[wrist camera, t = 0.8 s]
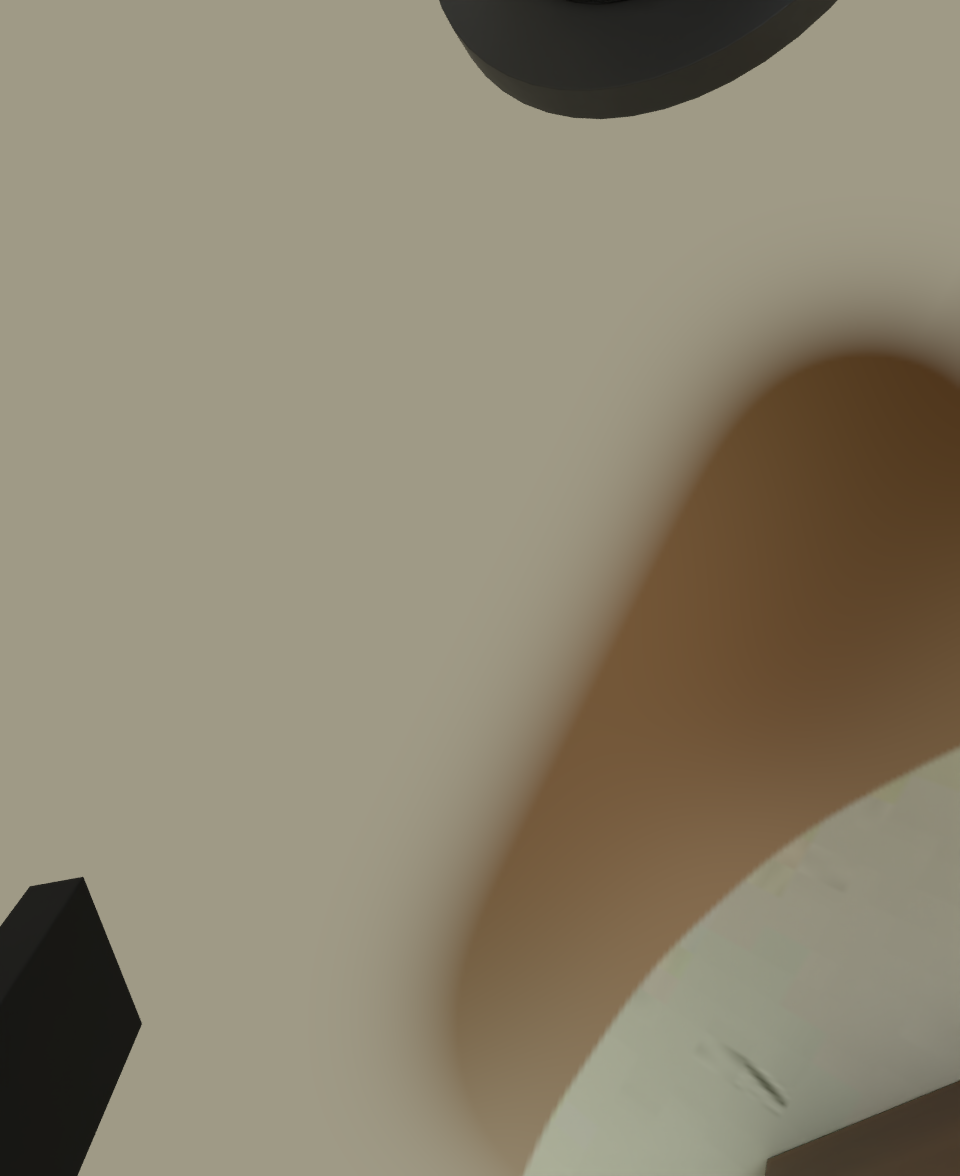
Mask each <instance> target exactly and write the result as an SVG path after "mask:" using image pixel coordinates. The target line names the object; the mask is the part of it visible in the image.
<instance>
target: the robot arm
mask: <svg viewBox="0 0 960 1176" xmlns="http://www.w3.org/2000/svg"><path fill="white" fill-rule="evenodd" d="M567 1H572V2H578V3H588V4H605V3H615V2H622V1H628V0H567ZM141 1025H142V1023H141V1020H140V1018H139V1015H138V1013H137V1010H136V1008H135V1005H134V1003H133V1000H132V998H131V995H130V993H129V990H128V988H127V985H126V983H125V980H124V978H123V975H122V973H121V970H120V968H119V965H118V963H117V960H116V958H115V955H114V953H113V950H112V948H111V945H110V943H109V940H108V938H107V935H106V933H105V930H104V928H103V925H102V923H101V920H100V918H99V915H98V913H97V910H96V908H95V905H94V903H93V900H92V898H91V895H90V893H89V890H88V888H87V885H86V883H85V881H84V878H83V877H81V878H75V879H69V880H64V881H58V882H52V883H47V884H41V885H35V886H30V887H29V888H28V890H27V891H26V892H25V894H24V895H23V896H22V898H21V899H20V901H19V902H18V903H17V905H16V906H15V907H14V909H13V910H12V911H11V913H10V914H9V916H8V917H7V918H6V919H5V921H4V922H3V924H2V925H1V926H0V1176H77V1175H78V1173H79V1171H80V1168H81V1166H82V1164H83V1161H84V1159H85V1157H86V1154H87V1152H88V1149H89V1147H90V1145H91V1142H92V1140H93V1138H94V1135H95V1133H96V1131H97V1128H98V1126H99V1123H100V1121H101V1119H102V1116H103V1114H104V1112H105V1110H106V1107H107V1104H108V1102H109V1100H110V1098H111V1095H112V1093H113V1090H114V1088H115V1086H116V1084H117V1081H118V1079H119V1077H120V1074H121V1072H122V1070H123V1067H124V1065H125V1062H126V1060H127V1058H128V1055H129V1053H130V1051H131V1048H132V1046H133V1044H134V1041H135V1038H136V1037H137V1034H138V1032H139V1029H140V1027H141Z"/></svg>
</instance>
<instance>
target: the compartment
mask: <svg viewBox="0 0 960 1176" xmlns="http://www.w3.org/2000/svg"><path fill="white" fill-rule="evenodd" d="M765 1176H960V1081H958V1082H956V1083H954V1084H951V1085H949V1086H946V1087H944V1088H941V1089H939V1090H936V1091H934V1092H931V1093H929V1094H927V1095H924V1096H922V1097H919V1098H917V1099H914V1100H912V1101H909V1102H907V1103H904V1104H902V1105H900V1106H897V1107H895V1108H892V1109H890V1110H887V1111H885V1112H882V1113H880V1114H878V1115H875V1116H873V1117H870V1118H868V1119H865V1120H863V1121H860V1122H858V1123H855V1124H853V1125H851V1126H848V1127H846V1128H843V1129H841V1130H838V1131H836V1132H833V1133H831V1134H828V1135H826V1136H824V1137H821V1138H819V1139H816V1140H814V1141H811V1142H809V1143H806V1144H804V1145H801V1146H799V1147H797V1148H794V1149H792V1150H789V1151H787V1152H784V1153H782V1154H779V1155H777V1156H774V1157H772V1158H770V1159H768V1160H767V1165H766V1173H765Z"/></svg>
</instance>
